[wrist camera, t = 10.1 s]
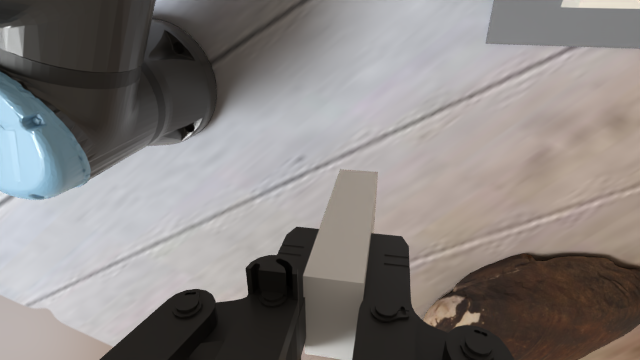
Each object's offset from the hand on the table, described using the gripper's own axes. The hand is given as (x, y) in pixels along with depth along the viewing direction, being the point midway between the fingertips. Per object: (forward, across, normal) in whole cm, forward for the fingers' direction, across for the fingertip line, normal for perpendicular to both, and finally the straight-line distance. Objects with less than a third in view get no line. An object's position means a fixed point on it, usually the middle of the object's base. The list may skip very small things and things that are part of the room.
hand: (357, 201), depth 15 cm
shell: (+31, -21, +33) cm, 49 cm away
